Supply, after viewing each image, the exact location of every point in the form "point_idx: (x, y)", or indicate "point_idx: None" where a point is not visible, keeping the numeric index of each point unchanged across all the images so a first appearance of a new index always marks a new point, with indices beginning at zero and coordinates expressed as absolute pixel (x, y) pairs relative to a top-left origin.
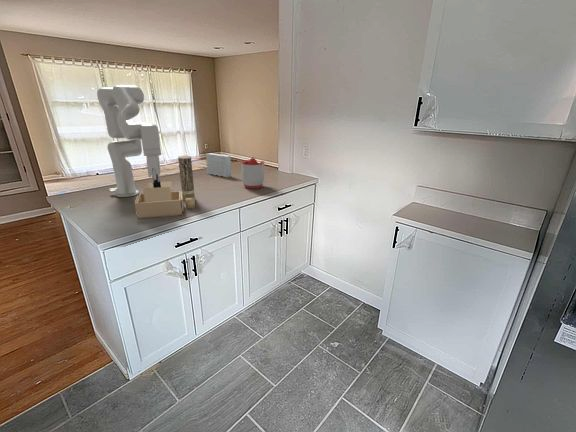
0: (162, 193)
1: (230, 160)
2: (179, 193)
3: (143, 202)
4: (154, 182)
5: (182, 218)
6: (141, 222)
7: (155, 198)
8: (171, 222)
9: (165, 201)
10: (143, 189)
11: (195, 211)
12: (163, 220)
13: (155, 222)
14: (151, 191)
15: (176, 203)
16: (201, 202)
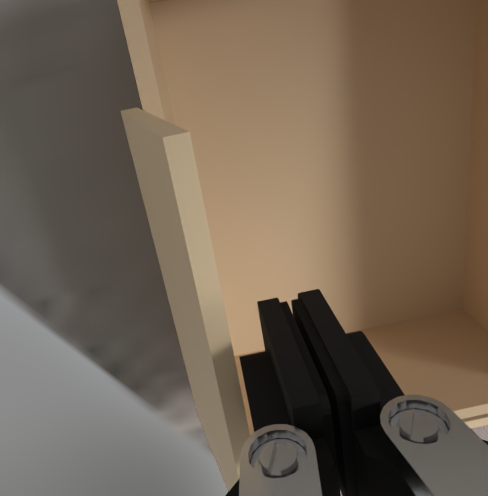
0: (204, 394)
1: None
2: (471, 410)
3: (152, 75)
4: (292, 436)
5: (137, 379)
6: (29, 53)
7: (166, 269)
8: (45, 323)
9: None
10: (155, 138)
11: None
12: (90, 250)
13: (37, 194)
14: (181, 272)
15: None
16: (481, 430)
